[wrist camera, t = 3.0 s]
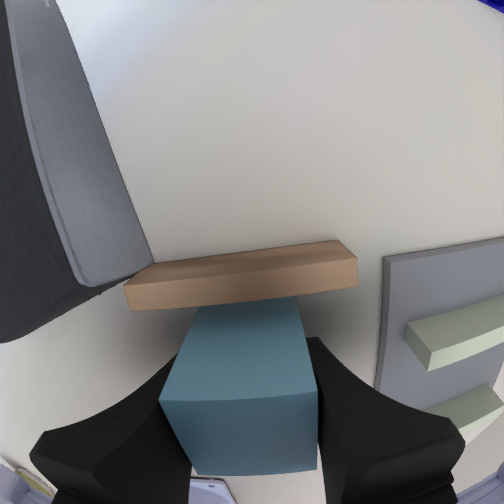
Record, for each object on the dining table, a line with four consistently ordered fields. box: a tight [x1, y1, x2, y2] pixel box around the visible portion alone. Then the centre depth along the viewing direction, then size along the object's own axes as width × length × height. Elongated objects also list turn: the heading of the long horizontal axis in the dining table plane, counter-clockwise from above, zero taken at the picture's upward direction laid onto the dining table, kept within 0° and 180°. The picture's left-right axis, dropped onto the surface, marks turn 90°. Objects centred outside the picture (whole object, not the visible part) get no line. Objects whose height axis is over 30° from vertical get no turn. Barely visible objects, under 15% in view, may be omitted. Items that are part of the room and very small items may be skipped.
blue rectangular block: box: [158, 296, 318, 476], centre depth 10 cm, size 4×4×6 cm
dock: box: [374, 237, 504, 435], centre depth 11 cm, size 10×14×3 cm
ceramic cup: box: [15, 467, 53, 497], centre depth 18 cm, size 13×10×10 cm
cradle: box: [123, 240, 358, 311], centre depth 11 cm, size 8×8×2 cm
